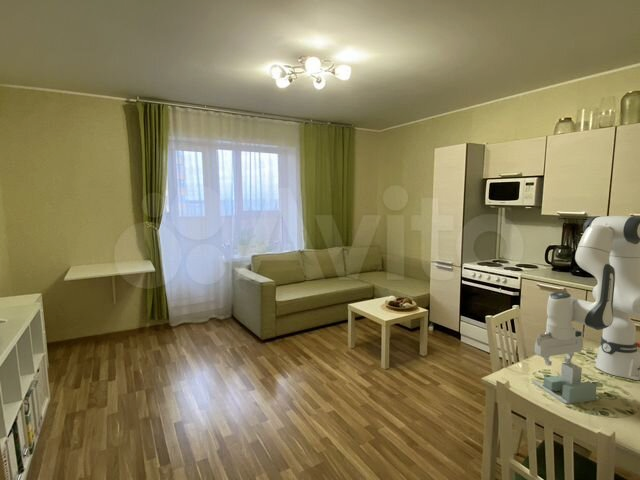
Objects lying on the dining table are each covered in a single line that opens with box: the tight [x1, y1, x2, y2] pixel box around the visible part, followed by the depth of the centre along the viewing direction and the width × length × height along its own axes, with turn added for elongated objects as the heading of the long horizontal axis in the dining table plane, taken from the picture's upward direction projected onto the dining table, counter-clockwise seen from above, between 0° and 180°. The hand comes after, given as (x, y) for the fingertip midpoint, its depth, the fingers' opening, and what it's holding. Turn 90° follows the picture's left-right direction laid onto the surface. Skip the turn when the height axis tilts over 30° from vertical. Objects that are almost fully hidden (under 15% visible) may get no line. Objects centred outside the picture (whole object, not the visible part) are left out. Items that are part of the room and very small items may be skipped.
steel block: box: [559, 361, 583, 394], centre depth 136 cm, size 4×5×12 cm
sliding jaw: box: [542, 375, 561, 393], centre depth 141 cm, size 12×4×4 cm, turn 100°
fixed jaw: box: [532, 380, 600, 405], centre depth 139 cm, size 15×16×6 cm
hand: (558, 363), depth 142 cm, fingers open, 8 cm apart
